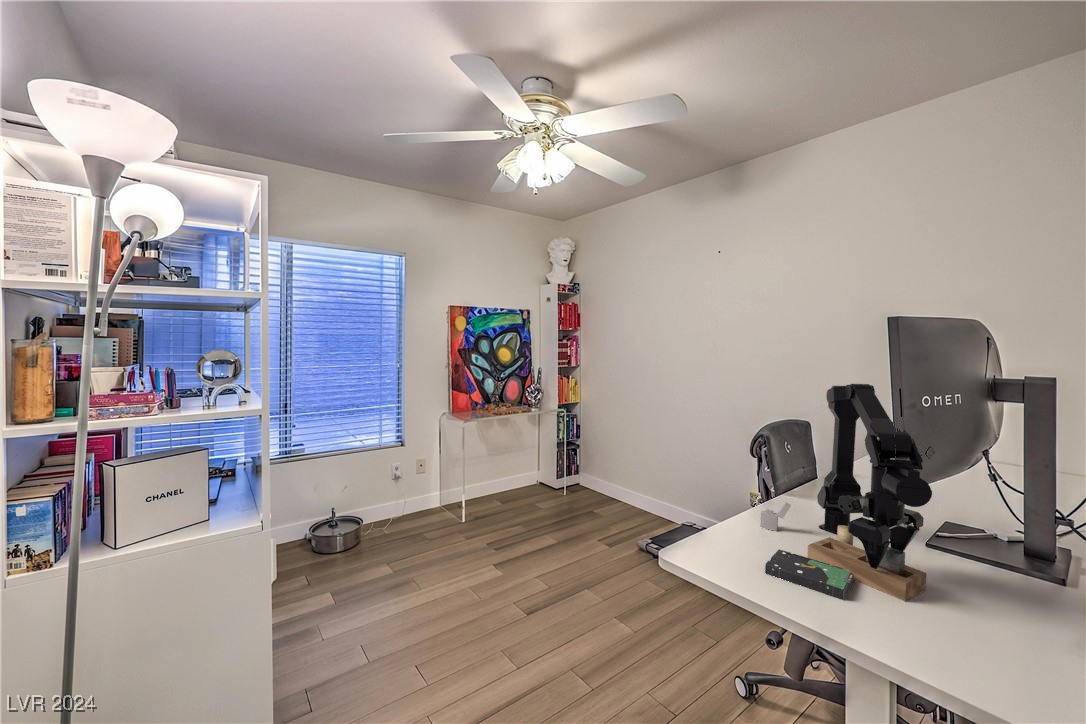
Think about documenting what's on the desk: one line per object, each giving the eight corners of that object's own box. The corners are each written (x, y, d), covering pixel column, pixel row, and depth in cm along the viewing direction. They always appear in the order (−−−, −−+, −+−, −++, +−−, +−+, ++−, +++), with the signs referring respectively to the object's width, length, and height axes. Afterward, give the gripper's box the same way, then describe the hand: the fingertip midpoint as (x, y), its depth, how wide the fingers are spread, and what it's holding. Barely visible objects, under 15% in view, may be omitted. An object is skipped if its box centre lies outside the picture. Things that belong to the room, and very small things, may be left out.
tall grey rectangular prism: (871, 574, 97) (872, 541, 96) (903, 587, 91) (905, 552, 91) (865, 577, 95) (866, 543, 95) (898, 590, 90) (899, 555, 90)
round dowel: (841, 548, 109) (842, 524, 109) (855, 553, 106) (856, 529, 106) (834, 550, 108) (834, 526, 107) (848, 556, 105) (849, 531, 105)
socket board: (829, 551, 107) (829, 537, 107) (925, 589, 91) (926, 572, 91) (807, 559, 103) (808, 544, 103) (905, 601, 86) (905, 583, 86)
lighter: (760, 528, 121) (760, 499, 120) (760, 525, 122) (761, 497, 122) (789, 534, 117) (790, 504, 117) (790, 531, 118) (791, 502, 118)
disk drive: (764, 576, 96) (845, 603, 86) (764, 564, 96) (845, 589, 86) (777, 560, 104) (853, 582, 94) (777, 548, 104) (854, 569, 94)
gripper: (867, 474, 104) (865, 538, 105) (822, 485, 95) (820, 556, 96) (926, 487, 94) (922, 559, 95) (882, 502, 85) (879, 580, 86)
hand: (884, 562), depth 93 cm, fingers open, 9 cm apart
